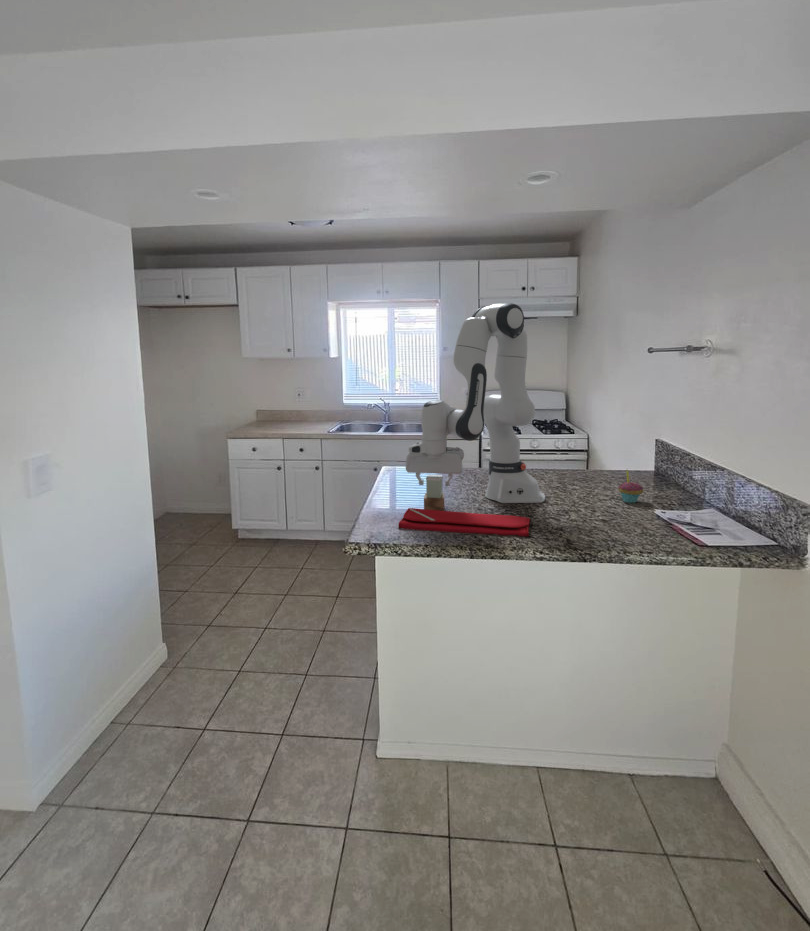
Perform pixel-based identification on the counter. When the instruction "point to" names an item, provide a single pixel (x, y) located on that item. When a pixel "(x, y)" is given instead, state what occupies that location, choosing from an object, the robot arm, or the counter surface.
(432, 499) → the walnut block
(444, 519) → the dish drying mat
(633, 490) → the cupcake
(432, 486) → the sage tin
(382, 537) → the counter surface
